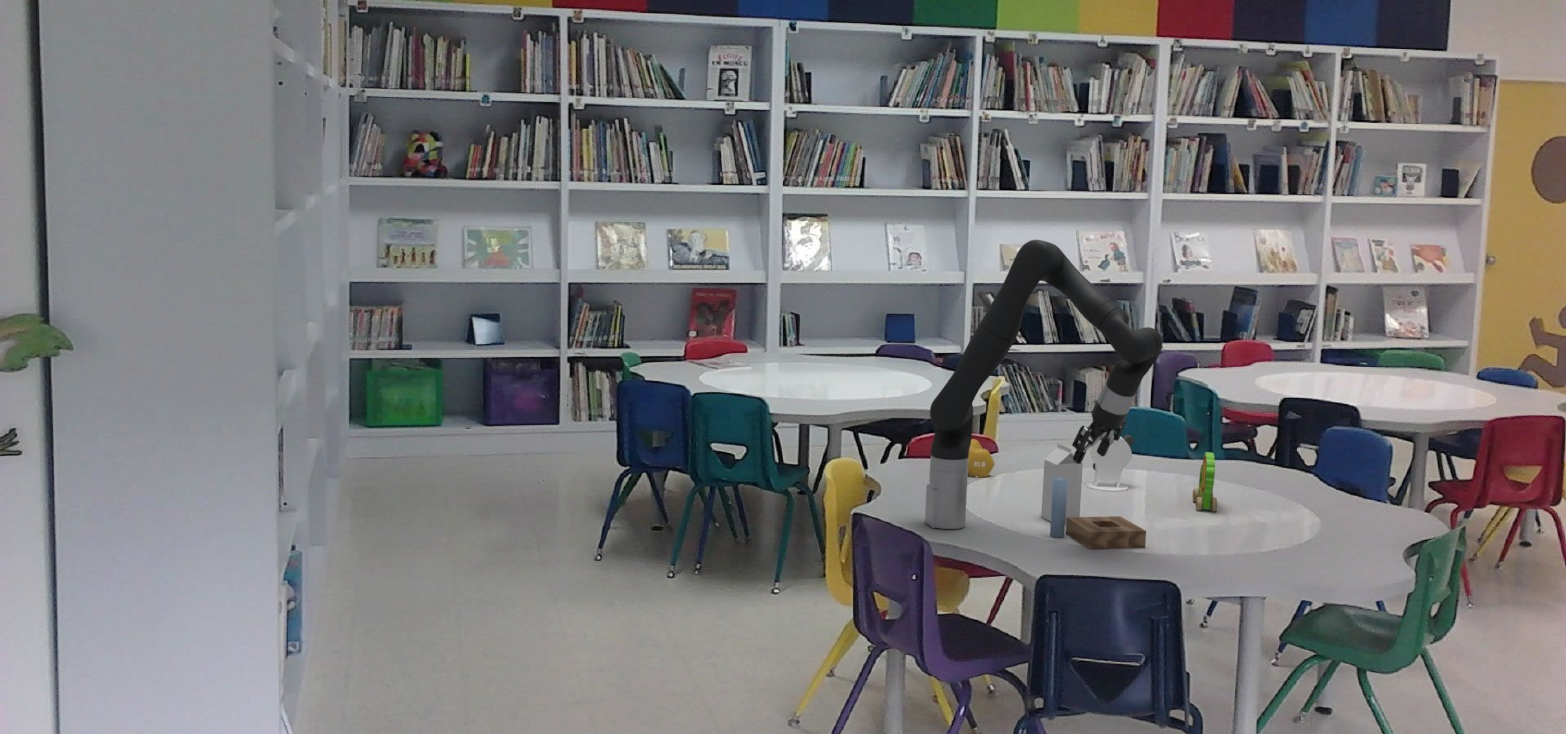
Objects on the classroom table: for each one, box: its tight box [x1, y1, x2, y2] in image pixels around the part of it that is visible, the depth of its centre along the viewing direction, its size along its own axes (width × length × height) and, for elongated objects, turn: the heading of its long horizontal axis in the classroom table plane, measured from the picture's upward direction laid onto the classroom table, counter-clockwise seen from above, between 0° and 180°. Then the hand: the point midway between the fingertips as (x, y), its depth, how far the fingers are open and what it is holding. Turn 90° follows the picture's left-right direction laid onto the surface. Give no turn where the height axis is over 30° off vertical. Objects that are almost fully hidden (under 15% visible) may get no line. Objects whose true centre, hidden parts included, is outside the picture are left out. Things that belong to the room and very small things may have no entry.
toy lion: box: [1192, 451, 1218, 512], centre depth 364 cm, size 16×5×15 cm, turn 168°
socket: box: [1065, 515, 1147, 550], centre depth 328 cm, size 14×14×4 cm
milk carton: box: [1040, 442, 1084, 524], centre depth 345 cm, size 7×7×19 cm
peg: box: [1049, 477, 1068, 539], centre depth 330 cm, size 3×3×14 cm
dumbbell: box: [968, 438, 995, 478], centre depth 402 cm, size 19×9×8 cm, turn 3°
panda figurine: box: [1086, 434, 1135, 493], centre depth 385 cm, size 12×11×15 cm
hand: (1088, 457), depth 325 cm, fingers open, 8 cm apart
